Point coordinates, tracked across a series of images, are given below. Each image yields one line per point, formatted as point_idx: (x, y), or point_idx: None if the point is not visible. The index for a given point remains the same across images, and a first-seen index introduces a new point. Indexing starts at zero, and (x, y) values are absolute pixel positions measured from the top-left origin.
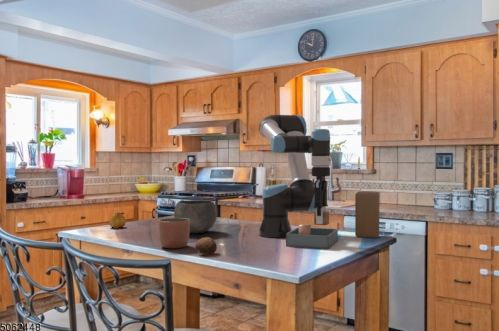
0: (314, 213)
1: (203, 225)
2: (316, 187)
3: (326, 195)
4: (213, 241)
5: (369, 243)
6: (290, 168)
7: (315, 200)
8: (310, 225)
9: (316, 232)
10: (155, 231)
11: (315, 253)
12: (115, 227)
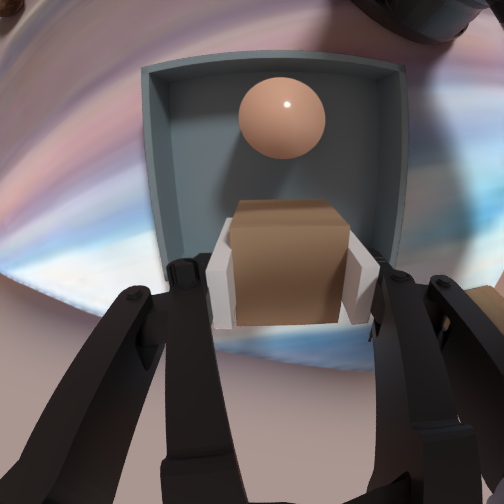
0: (229, 227)
1: None
2: (40, 486)
3: (452, 392)
4: (2, 2)
5: (344, 349)
6: None
7: (99, 336)
8: (283, 158)
9: (390, 163)
10: None
11: (97, 233)
12: None
